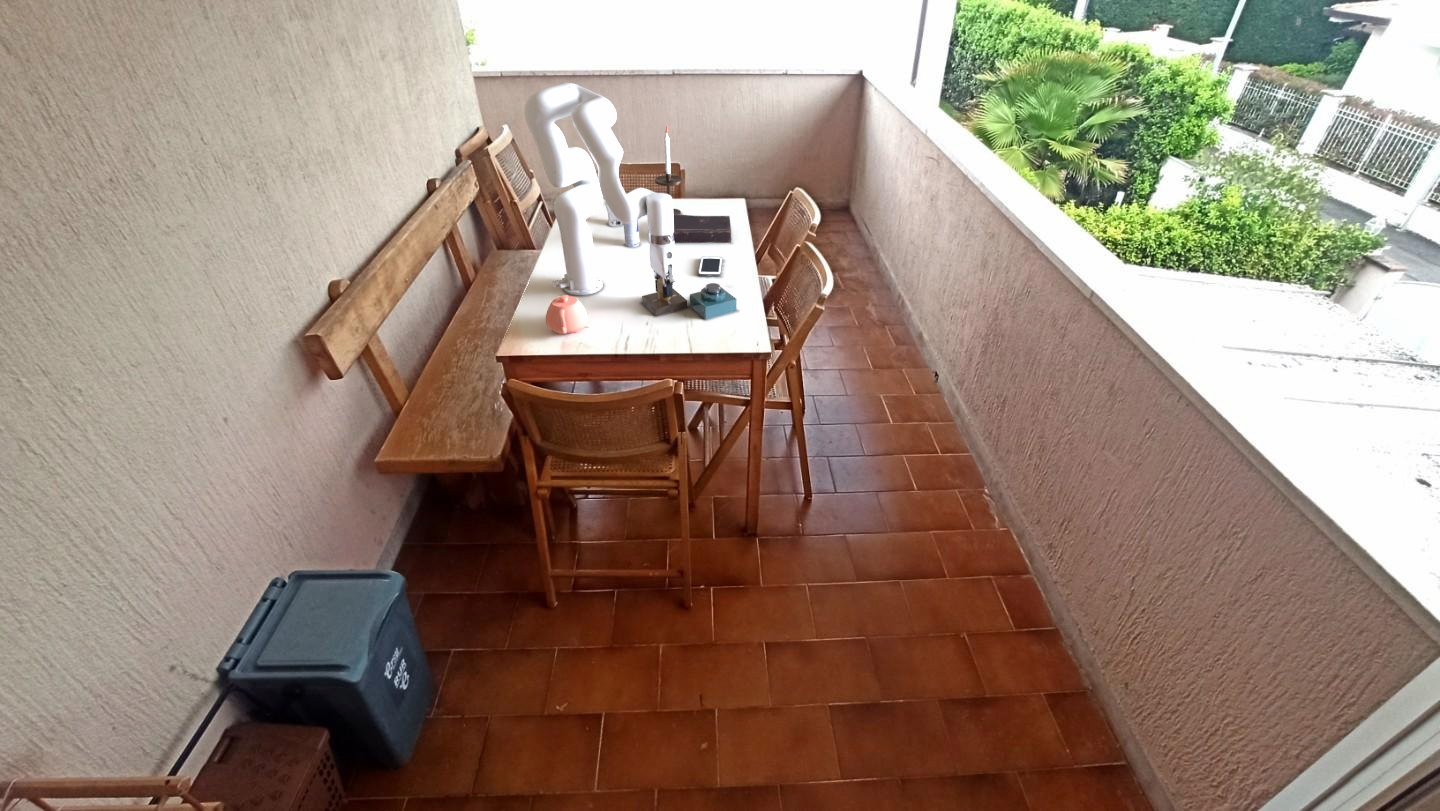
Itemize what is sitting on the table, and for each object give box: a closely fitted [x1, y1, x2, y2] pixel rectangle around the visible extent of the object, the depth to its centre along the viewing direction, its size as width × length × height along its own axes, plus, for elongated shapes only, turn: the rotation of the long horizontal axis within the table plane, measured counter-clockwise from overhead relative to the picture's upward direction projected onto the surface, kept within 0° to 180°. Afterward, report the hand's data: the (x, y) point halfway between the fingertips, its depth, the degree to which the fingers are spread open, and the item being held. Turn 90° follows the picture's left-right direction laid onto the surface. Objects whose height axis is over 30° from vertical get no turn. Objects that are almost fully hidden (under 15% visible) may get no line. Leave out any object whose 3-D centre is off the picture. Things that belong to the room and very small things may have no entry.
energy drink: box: [623, 219, 641, 248], centre depth 238 cm, size 5×5×12 cm
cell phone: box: [698, 256, 724, 277], centre depth 224 cm, size 8×15×1 cm, turn 177°
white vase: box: [604, 201, 624, 228], centre depth 254 cm, size 7×7×15 cm
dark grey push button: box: [705, 282, 721, 295], centre depth 196 cm, size 4×4×2 cm
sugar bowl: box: [545, 294, 589, 335], centre depth 187 cm, size 12×14×10 cm
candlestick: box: [654, 124, 683, 215], centre depth 257 cm, size 11×11×35 cm
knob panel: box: [641, 288, 689, 317], centre depth 201 cm, size 11×10×3 cm
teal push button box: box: [689, 286, 737, 320], centre depth 199 cm, size 11×10×6 cm
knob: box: [656, 277, 671, 301], centre depth 199 cm, size 4×4×6 cm
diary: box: [673, 214, 732, 244], centre depth 248 cm, size 19×25×5 cm
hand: (664, 293), depth 199 cm, fingers closed on knob, 4 cm apart
